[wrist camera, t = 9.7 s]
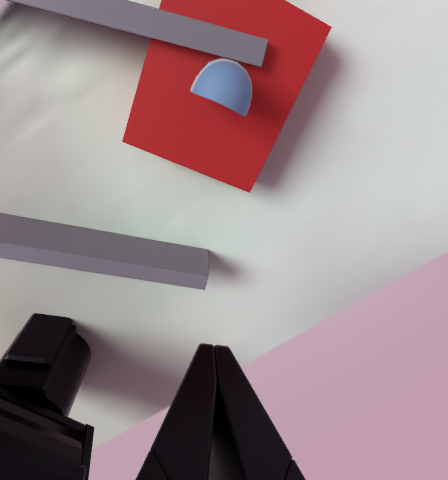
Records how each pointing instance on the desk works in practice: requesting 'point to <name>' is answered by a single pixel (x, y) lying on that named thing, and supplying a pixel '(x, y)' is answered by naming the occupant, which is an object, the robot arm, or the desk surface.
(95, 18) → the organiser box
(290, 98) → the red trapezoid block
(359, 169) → the desk surface
